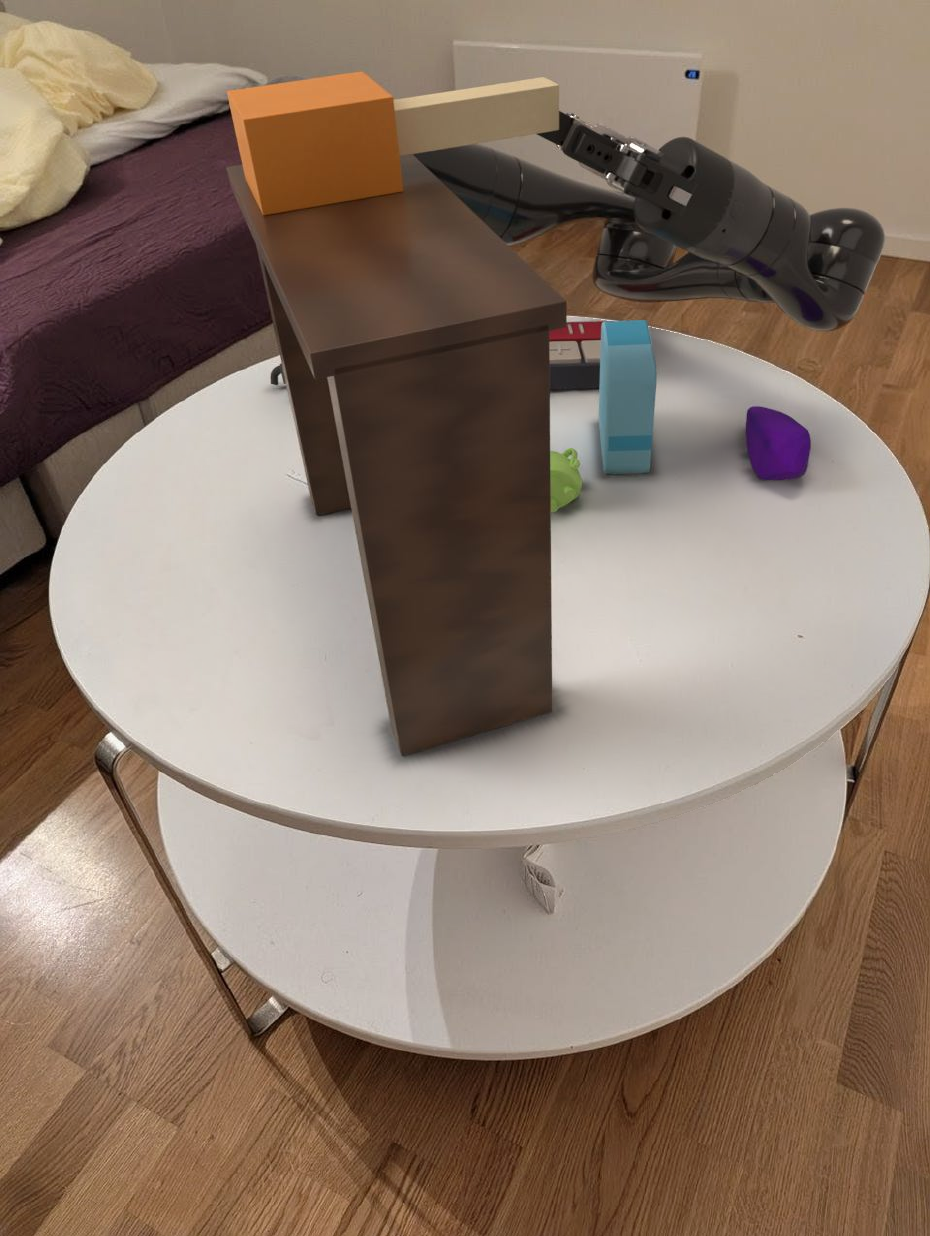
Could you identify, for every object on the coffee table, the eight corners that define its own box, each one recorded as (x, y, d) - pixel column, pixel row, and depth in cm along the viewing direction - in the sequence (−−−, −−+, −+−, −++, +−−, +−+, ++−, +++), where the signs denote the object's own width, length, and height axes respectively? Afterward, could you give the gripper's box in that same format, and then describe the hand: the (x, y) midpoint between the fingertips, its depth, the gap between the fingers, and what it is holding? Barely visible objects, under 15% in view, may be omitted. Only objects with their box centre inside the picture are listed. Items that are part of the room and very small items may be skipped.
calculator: (632, 357, 105) (500, 361, 104) (628, 392, 107) (500, 395, 107) (617, 317, 113) (495, 320, 113) (614, 350, 116) (495, 353, 115)
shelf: (432, 472, 96) (396, 139, 75) (564, 708, 70) (567, 301, 49) (301, 502, 94) (226, 166, 72) (388, 760, 68) (309, 353, 46)
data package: (649, 479, 93) (657, 369, 85) (604, 480, 93) (608, 370, 85) (639, 419, 101) (646, 314, 94) (598, 420, 102) (601, 316, 94)
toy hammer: (531, 133, 74) (529, 46, 70) (574, 162, 67) (575, 68, 63) (245, 180, 69) (226, 90, 65) (262, 216, 63) (242, 119, 59)
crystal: (776, 385, 97) (825, 446, 85) (770, 428, 100) (817, 493, 88) (730, 389, 97) (773, 450, 85) (726, 432, 100) (767, 497, 88)
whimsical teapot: (581, 486, 92) (582, 436, 89) (585, 517, 88) (586, 466, 85) (519, 489, 93) (517, 439, 89) (520, 520, 89) (519, 470, 85)
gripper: (721, 276, 74) (559, 200, 66) (642, 222, 84) (493, 150, 76) (775, 183, 70) (610, 90, 62) (686, 138, 81) (534, 54, 73)
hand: (546, 123), depth 69 cm, fingers open, 8 cm apart
